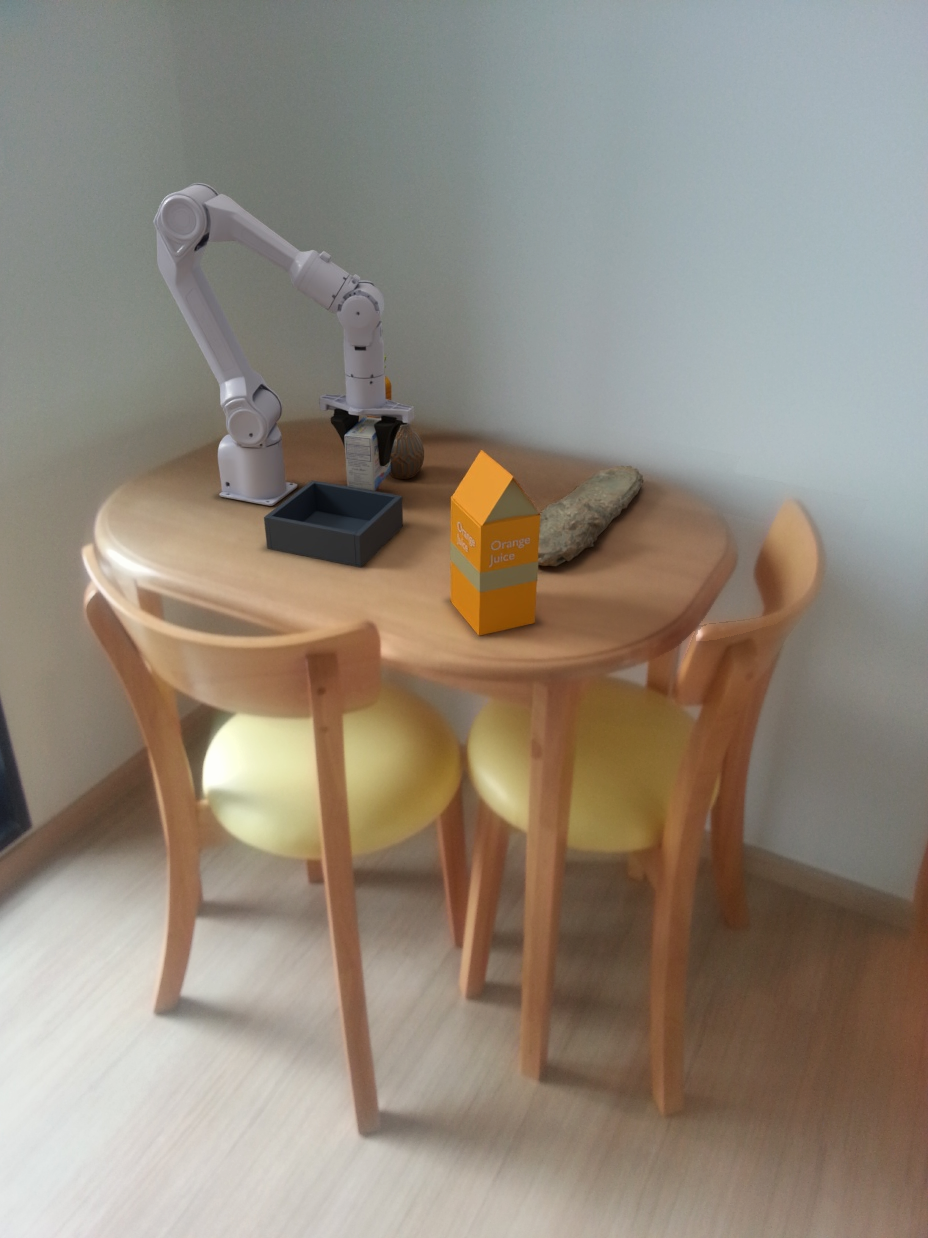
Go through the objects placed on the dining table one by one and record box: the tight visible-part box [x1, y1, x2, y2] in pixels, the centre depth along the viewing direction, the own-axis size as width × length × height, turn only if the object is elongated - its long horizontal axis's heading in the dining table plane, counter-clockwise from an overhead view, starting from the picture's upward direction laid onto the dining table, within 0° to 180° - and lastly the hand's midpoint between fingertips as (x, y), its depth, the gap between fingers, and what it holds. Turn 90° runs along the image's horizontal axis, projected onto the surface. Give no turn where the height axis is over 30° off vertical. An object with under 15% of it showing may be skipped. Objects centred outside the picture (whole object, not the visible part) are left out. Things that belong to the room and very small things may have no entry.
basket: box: [263, 480, 404, 568], centre depth 136 cm, size 15×14×5 cm
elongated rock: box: [538, 465, 644, 567], centre depth 141 cm, size 35×5×10 cm
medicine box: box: [344, 416, 391, 491], centre depth 145 cm, size 8×4×9 cm, turn 165°
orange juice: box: [449, 449, 541, 636], centre depth 115 cm, size 8×9×20 cm
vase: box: [388, 422, 425, 480], centre depth 154 cm, size 7×7×9 cm
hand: (368, 461), depth 145 cm, fingers closed on medicine box, 5 cm apart
